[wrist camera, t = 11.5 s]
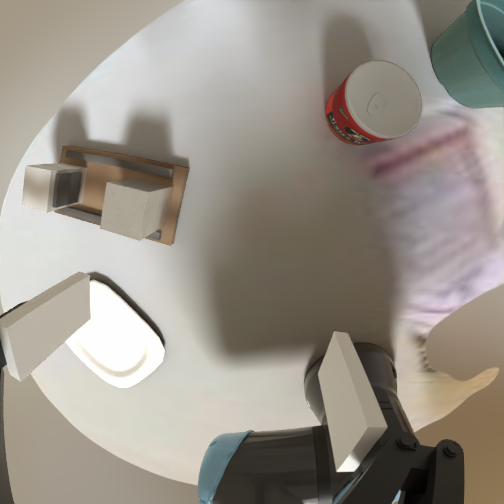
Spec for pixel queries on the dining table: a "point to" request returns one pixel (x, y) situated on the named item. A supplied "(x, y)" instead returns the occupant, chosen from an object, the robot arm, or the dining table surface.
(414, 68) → the dining table surface
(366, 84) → the canned food
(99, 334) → the plate
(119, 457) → the dining table surface
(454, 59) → the flower pot
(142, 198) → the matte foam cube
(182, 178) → the rail board
